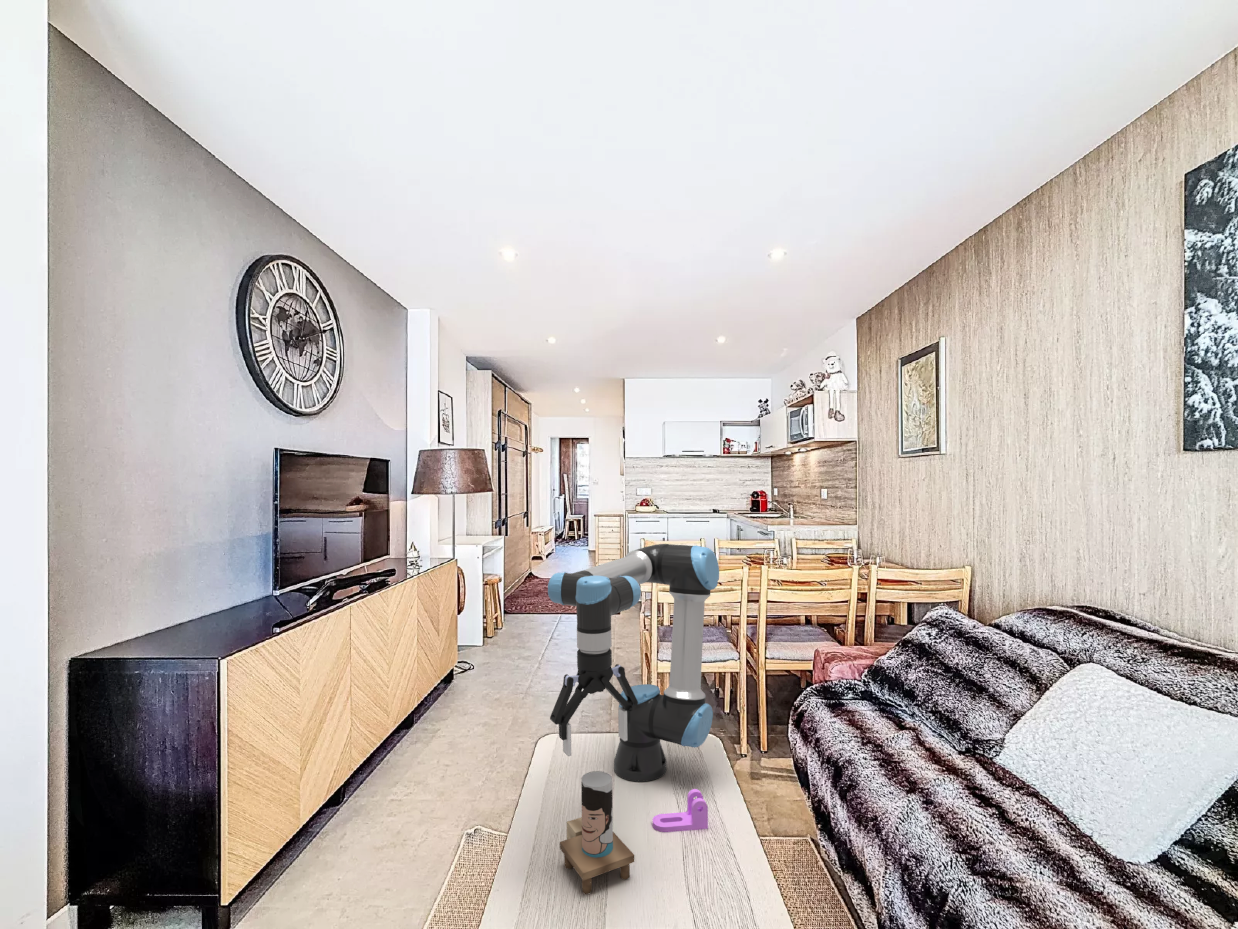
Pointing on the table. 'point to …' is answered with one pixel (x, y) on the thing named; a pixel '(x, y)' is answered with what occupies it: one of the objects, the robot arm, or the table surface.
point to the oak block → (574, 828)
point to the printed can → (597, 814)
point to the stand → (596, 860)
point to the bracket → (684, 816)
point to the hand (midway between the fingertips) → (595, 746)
